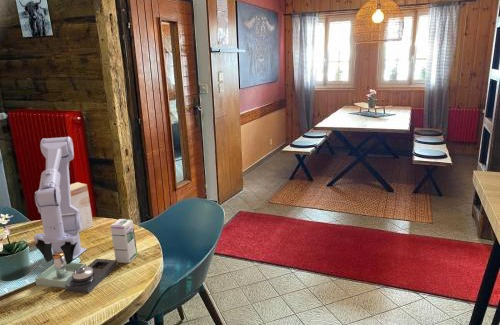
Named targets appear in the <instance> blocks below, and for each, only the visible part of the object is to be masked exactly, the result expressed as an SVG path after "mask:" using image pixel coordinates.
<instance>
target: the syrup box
mask: <svg viewBox="0 0 500 325" xmlns="http://www.w3.org/2000/svg"><path fill="white" fill-rule="evenodd" d="M110 233H111V240H112V246H113V250H114V251H113V252H114V257H115V259H114V260H117V263H122V264H131V263H132V261H133V260H135V258H136V257H137V256H138V249H137V242H136V241H137V240H136V234H135V228H134V221H133V219H129V218H119V219H118V220H116V221H114V222H113V223H112V224H111V225H110Z"/></svg>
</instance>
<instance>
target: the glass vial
mask: <svg viewBox="0 0 500 325" xmlns="http://www.w3.org/2000/svg"><path fill="white" fill-rule="evenodd" d="M52 255H53V259H52V260H53V265H54V264H55V270H56V275H57V278H59V279H60V278H64V277H66V276H67V269H66V264H65V262H66V260H65V258H64V253H63V252H57V253H55V254H53V253H52Z"/></svg>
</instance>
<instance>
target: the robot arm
mask: <svg viewBox="0 0 500 325" xmlns="http://www.w3.org/2000/svg"><path fill="white" fill-rule="evenodd" d="M39 147H40V151H41V153H42V155H43V157H44V158H45V170H43V171H41V175H40V181H39V187H38V190H36V191H35V192H34V202H35V205H36V207H37V211H38V213H39V214H40V217H41V222H42V229H43V233H37V234H35V235H33V239H34V242H37V243H35V248H36V249H37V250H38V251H39V252H40V253H41V254H42V256H43V258H44V259H45V262H46V263H49V262H51V261H52V260H54V259H53V254H55V253H57V252H63V253H64V258H65V262H66V263H67V264H70V263H71V262H74V260H75V259H77V258H78V257H79V256H80V255H82V254H83V253H84V252H85V251H87V250H88V249H87V248H86V247H82V243H81V238H80V232H79V230H80V229H81V228H82V219H81V214H80V211H79V209H77V208H76V207H74V206H72V205H71V191H70V185H71V183H70V182H71V180H70V179H71V177H70V169H69V168H70V162H71V161H72V160H74V157H75V152H74V151H75V150H74V143H73V138H71V137H70V136H64V137H63V136H61V137H50V138H49V137H48V138H45V137H44V138H42V139H41V140H40V145H39ZM68 213H74V214H71V215H63V216H61V214H68Z"/></svg>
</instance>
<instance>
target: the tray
mask: <svg viewBox="0 0 500 325" xmlns="http://www.w3.org/2000/svg"><path fill="white" fill-rule="evenodd" d="M65 264H66V269H67V276H66V277H64V278H60V279H59V278H57V275H56V270H55V264H54V263H53V264H52V265H51V266H50V267H48V268H46V270H44V271H43V272H41V273H40V274H39V275H37V276H36V277H35V278H34V281H35V285H36V286H42V287H50V288H51V287H52V288H61V289H65V285H66V284H67V283H68V282H70V281H71V280H72V273H73V271H75V270H76V269H78V268H81V267H87V264H86V263H83V262H74V261H72V262H71V263H70V264H67V263H66V261H65Z"/></svg>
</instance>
